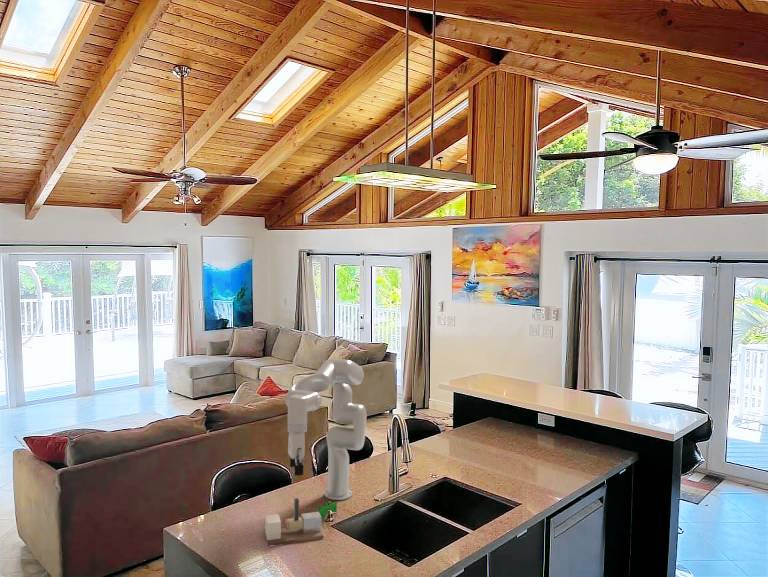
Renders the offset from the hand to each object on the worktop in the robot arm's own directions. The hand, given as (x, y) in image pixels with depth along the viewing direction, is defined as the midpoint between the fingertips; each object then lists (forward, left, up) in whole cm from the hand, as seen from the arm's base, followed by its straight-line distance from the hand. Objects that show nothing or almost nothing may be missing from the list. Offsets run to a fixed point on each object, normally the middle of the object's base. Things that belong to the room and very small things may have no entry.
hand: (296, 470), depth 224 cm
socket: (0, -9, -24) cm, 26 cm away
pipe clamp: (-14, +15, -26) cm, 33 cm away
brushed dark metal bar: (0, +3, -22) cm, 23 cm away
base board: (0, -1, -26) cm, 26 cm away
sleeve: (0, +6, -24) cm, 25 cm away
